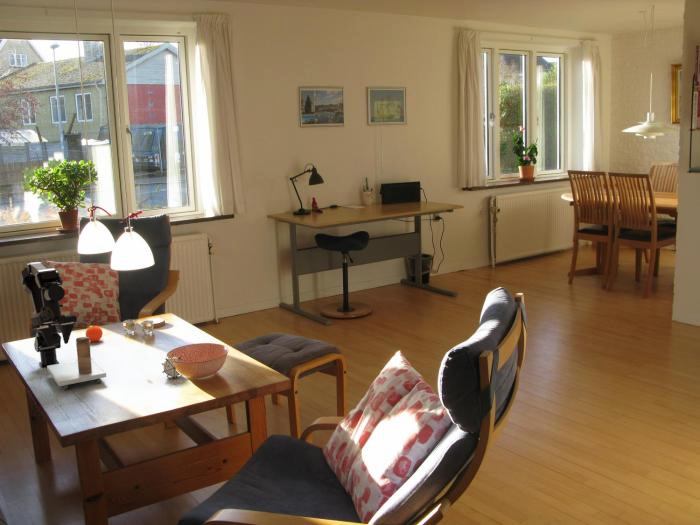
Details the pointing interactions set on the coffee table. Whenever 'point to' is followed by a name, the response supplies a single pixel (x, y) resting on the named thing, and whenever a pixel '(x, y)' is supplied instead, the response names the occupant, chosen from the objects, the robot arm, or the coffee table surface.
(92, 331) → the clementine
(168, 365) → the grey spiky ball
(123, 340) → the coffee table surface
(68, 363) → the caster cart
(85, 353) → the cylinder
